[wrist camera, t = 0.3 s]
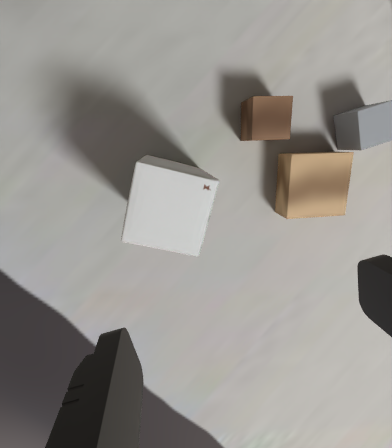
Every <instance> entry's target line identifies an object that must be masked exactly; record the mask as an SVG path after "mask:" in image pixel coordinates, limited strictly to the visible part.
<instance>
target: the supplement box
mask: <svg viewBox="0 0 392 448" xmlns="http://www.w3.org/2000/svg"><path fill="white" fill-rule="evenodd" d="M219 182H220V181H219V180H218V179H217V178H215V177H213V176H212V175H210V174H208V173H207V172H205V171H204V170H202V169H200V168H197V167H193V166H190V165H186V164H183V163H179V162H175V161H171V160H167V159H163V158H159V157H154V156H150V155H145V156H144V157H142V158H141V159H140V160H138V161H137V162H136V164H135V168H134V172H133V177H132V182H131V188H130V193H129V198H128V203H127V209H126V214H125V220H124V226H123V232H122V238H121V241H122V242H126V243H131V244H136V245H142V246H147V247H152V248H157V249H162V250H167V251H171V252H176V253H181V254H185V255H190V256H195V257H198V256H199V255H200V251H201V248H202V244H203V240H204V237H205V233H206V229H207V226H208V222H209V219H210V216H211V211H212V207H213V203H214V200H215V196H216V193H217V189H218V186H219Z"/></svg>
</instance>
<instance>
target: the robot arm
mask: <svg viewBox="0 0 392 448" xmlns="http://www.w3.org/2000/svg"><path fill="white" fill-rule="evenodd" d="M358 290H359V302H360V305H361V308H362V310H363V311H364V313H365V314H366V315H367V316H368V318H370V319H371V320H372V321H373V322H374V323H375V324H377V325H378V326H379V327H380V328H381V329H383V330H384V331H385V332H386V333H387V334H389V335H390V336H391V337H392V257H390V256H387V255H379V256H376V257H372V258H369V259H365V260H362V261H360V262H359V263H358ZM142 393H143V373H142V367H141V364H140V361H139V358H138V356H137V353H136V351H135V348H134V346H133V343H132V341H131V338H130V336H129V333H128V331H127V329H126V328H121V329H117V330H114V331H110V332H107V333H103V334H101V335H100V336H99V339H98V342H97V345H96V349H95V352H94V354H91V355H87V356H86V357H85V358H84V359H83V361H82V362H81V363H80V365H79V366H78V367H77V369H76V370H75V372H74V374H73V376H72V379H71V381H70V384H69V387H68V392H66V394H65V397H64V400H63V403H62V407H61V408H60V410H59V413H58V415H57V418H56V421H55V423H54V426H53V429H52V431H51V434H50V436H49V439H48V442H47V444H46V447H45V448H139V434H140V421H141V407H142Z"/></svg>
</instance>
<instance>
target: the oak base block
mask: <svg viewBox="0 0 392 448" xmlns="http://www.w3.org/2000/svg"><path fill="white" fill-rule="evenodd" d="M353 153H354V152H312V153H284V154H278V171H277V188H276V204H275V212H276V213H278V214H279V215H281V216H283V217H285V218H286V219H293V218H309V217H324V216H340V215H345V210H346V203H347V196H348V188H349V181H350V174H351V167H352V160H353Z"/></svg>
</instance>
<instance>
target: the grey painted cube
mask: <svg viewBox="0 0 392 448" xmlns="http://www.w3.org/2000/svg"><path fill="white" fill-rule="evenodd" d="M334 123H335V132H336V140H337V149H338V150H363V149H367V148H370V147H373V146H376V145H379V144H382V143H385V142H388V141H391V140H392V100H391V101H386V102H381V103H376V104H371V105H366V106H363V107H359V108H356V109H353V110H350V111H347V112H344V113H340V114H337V115H334Z"/></svg>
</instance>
